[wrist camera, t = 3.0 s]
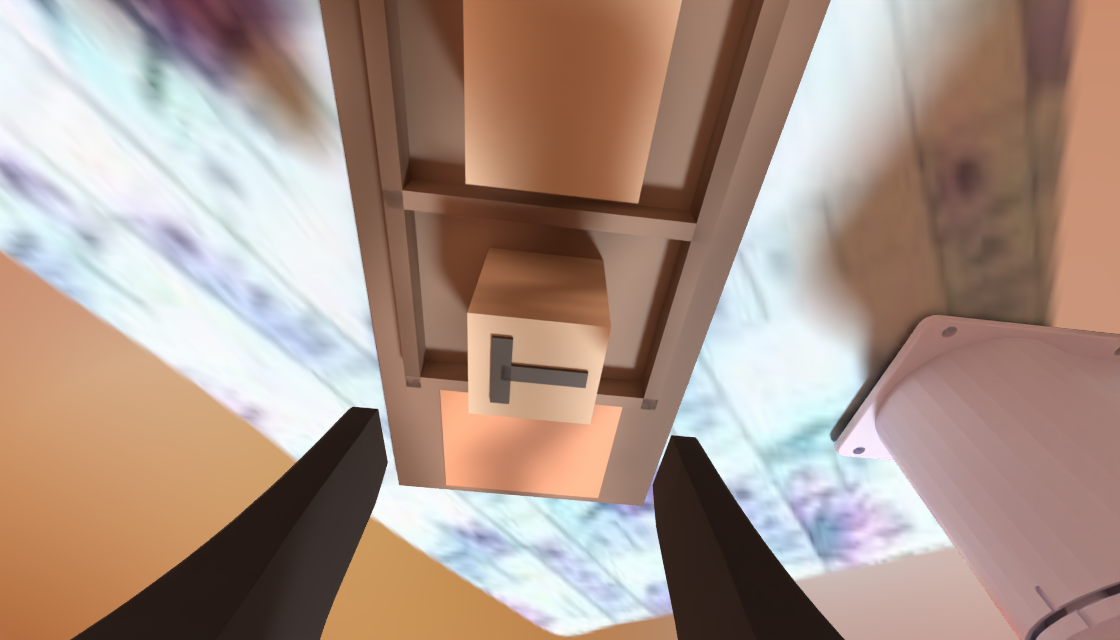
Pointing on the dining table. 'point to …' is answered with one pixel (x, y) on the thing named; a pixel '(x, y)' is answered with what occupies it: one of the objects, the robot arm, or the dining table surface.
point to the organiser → (552, 236)
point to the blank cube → (564, 93)
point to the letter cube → (537, 336)
